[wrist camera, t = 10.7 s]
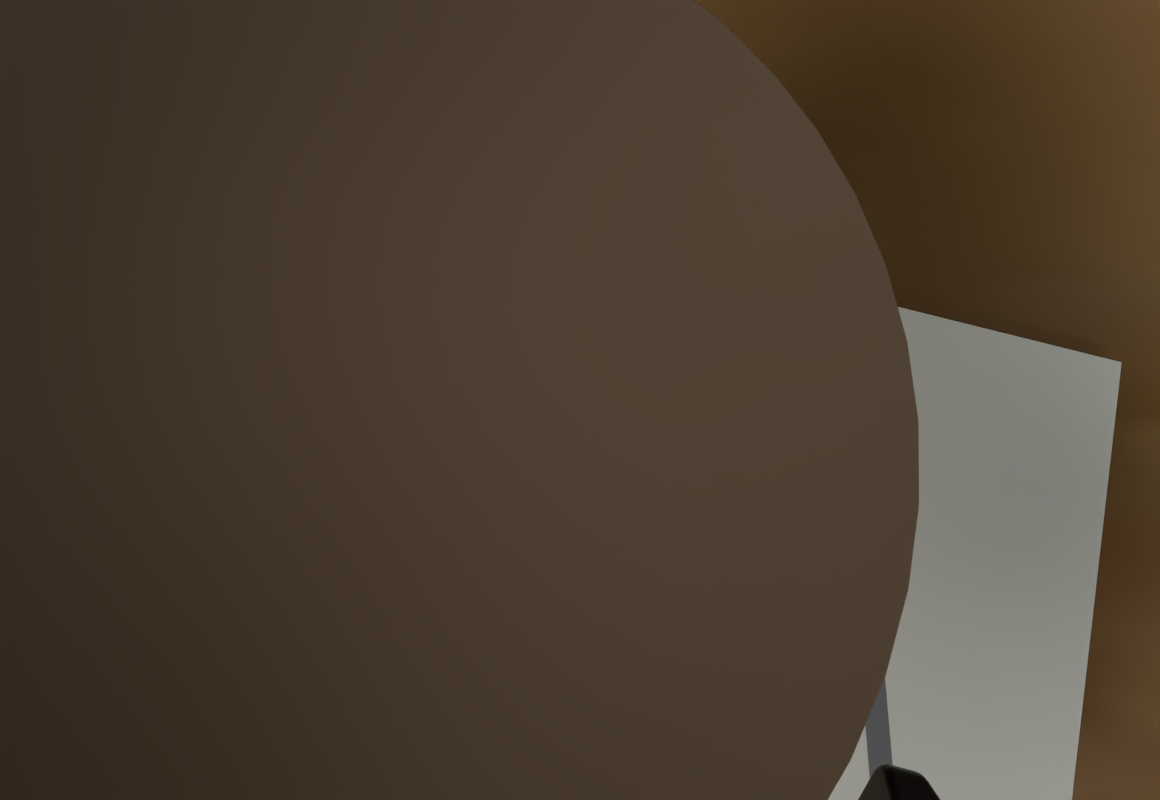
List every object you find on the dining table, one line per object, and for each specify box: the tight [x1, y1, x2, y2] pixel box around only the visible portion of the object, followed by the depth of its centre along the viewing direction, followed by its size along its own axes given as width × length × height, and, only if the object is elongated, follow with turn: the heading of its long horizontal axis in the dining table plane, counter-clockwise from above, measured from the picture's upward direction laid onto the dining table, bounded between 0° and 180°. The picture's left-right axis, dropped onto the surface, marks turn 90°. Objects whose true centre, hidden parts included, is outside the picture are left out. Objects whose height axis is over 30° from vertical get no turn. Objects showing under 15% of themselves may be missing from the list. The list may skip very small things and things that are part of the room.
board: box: [828, 307, 1122, 800], centre depth 16 cm, size 20×13×1 cm, turn 76°
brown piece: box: [0, 0, 919, 800], centre depth 9 cm, size 7×6×13 cm
